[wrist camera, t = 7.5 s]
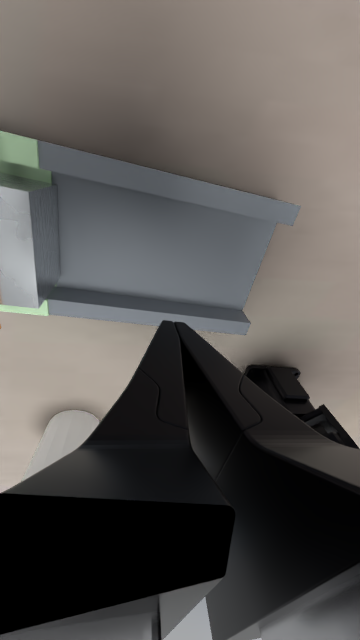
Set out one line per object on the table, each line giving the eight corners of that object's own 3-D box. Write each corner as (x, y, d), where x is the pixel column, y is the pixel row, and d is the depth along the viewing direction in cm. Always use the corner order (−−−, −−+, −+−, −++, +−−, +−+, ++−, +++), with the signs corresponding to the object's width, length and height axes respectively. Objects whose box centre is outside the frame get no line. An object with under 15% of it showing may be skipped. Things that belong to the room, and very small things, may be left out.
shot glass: (92, 447, 31) (80, 513, 25) (34, 436, 28) (7, 506, 23) (115, 415, 28) (109, 480, 23) (54, 399, 26) (29, 468, 20)
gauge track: (233, 315, 23) (255, 350, 19) (-58, 279, 18) (-121, 316, 13) (277, 199, 18) (320, 211, 14) (-110, 102, 13) (-238, 71, 8)
